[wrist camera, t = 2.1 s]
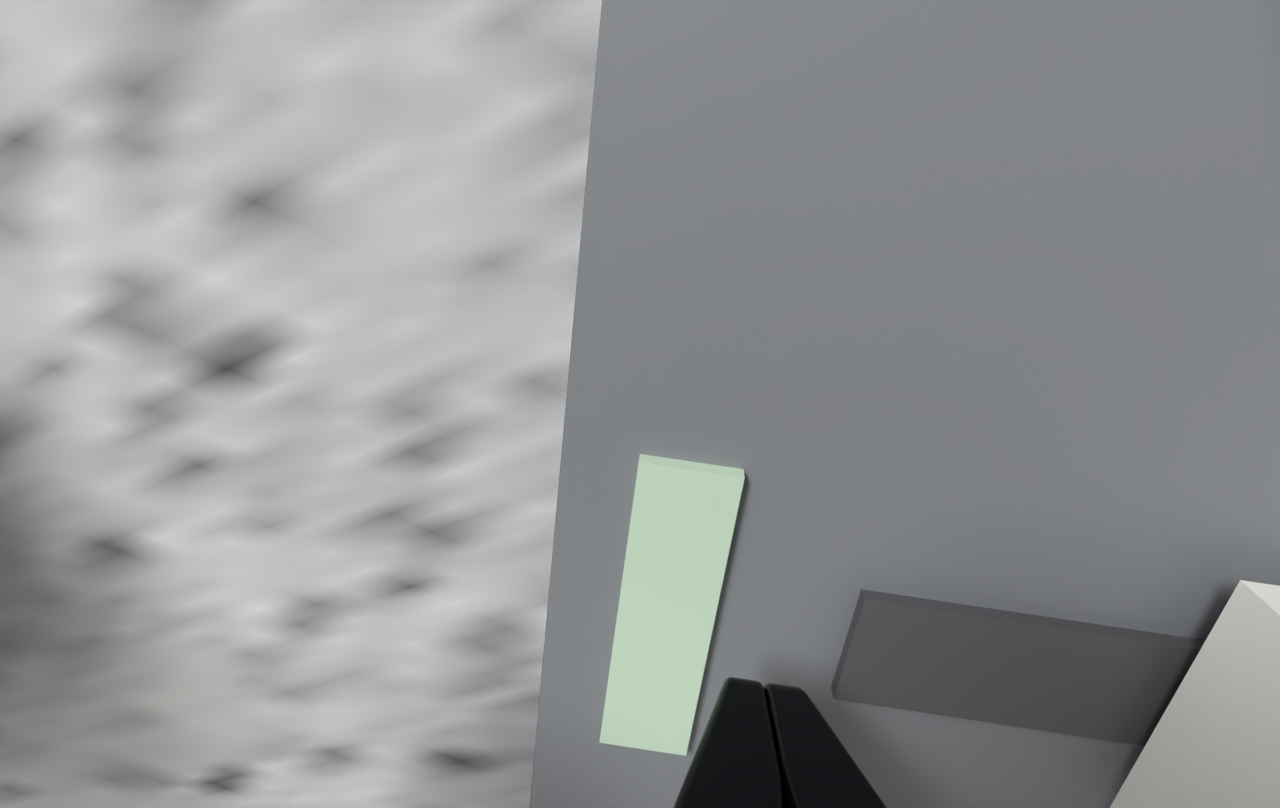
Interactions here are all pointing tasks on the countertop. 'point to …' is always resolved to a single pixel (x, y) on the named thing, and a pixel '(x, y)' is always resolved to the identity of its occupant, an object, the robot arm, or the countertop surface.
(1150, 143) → the panel
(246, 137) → the countertop surface
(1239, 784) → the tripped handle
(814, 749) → the robot arm
